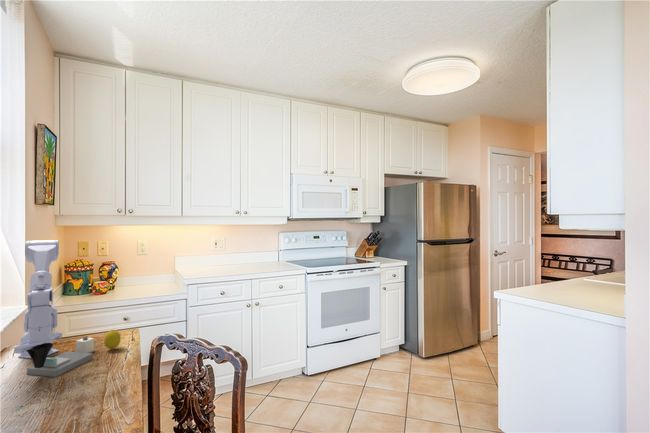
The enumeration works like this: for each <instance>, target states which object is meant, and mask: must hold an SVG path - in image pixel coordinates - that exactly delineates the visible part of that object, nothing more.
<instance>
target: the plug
mask: <svg viewBox="0 0 650 433" xmlns="http://www.w3.org/2000/svg"><path fill="white" fill-rule="evenodd" d="M94 351H95V337H89V336H82V338H80V339H77V340H75V352H82V353H92V352H94Z"/></svg>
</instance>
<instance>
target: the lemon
mask: <svg viewBox="0 0 650 433" xmlns="http://www.w3.org/2000/svg"><path fill="white" fill-rule="evenodd" d="M103 343H104V347H105V348H106V349H110V350H111V351H112V350H113V351H114V349H115V348H117V347H118V346H119V345H120V343H121V334H120V333H119V331H117V330H114V329H111V330H109V331H107V333H106V334H105V335H104V339H103Z"/></svg>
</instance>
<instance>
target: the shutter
mask: <svg viewBox="0 0 650 433" xmlns="http://www.w3.org/2000/svg"><path fill="white" fill-rule="evenodd" d="M54 357H55V356H54ZM68 361H70V358H58V357H55V358H52V357H49V356H47V358H46V360H45V364H44V366H45V367H57V366H59V365H61V364H63V363H65V362H68Z"/></svg>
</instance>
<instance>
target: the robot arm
mask: <svg viewBox="0 0 650 433" xmlns="http://www.w3.org/2000/svg"><path fill="white" fill-rule="evenodd" d="M24 243H25V244H24V256H25V260H26V262H28V263H30V264H31V263H32V264H33V266H34V273H32V274H31V275H30V280H29V292H27V298H26V299H27V300H26V304H27V310H26V311H25V312H24V318H23V331H24V333H23V334H22V336H21V338H20V344H19V345H16V346H14V351H13V353H14V354H16V355H17V354H18V356H17V357H18V358H23V359H24V358H25V359H26V358H27V359H31V361H32V363H33V366H34V367H35V368H42V367H44V364H45V360H46V358H47V357H49V356H50V355H53V354H54V353H57V352H59V349H55V348H53V346H54V344H53V341H56V340H59V339H62V338H63V332H61V331H59V332H57V331H56V332H54V329H56V328H57V327H58V309H57V307H55V305H54V290H53V286H52V284H53V283H52V282H53V281H52V280H53V279H52V278H53V276H52V273H50V267H51V264H52V263H53V262H54V261H57V260H58V258H59V255H60V253H59V250H60V241H59V240H58V239H54V240H53V239H52V240H49V239H48V240H26V241H25V242H24ZM50 302H51V304H50Z"/></svg>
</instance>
